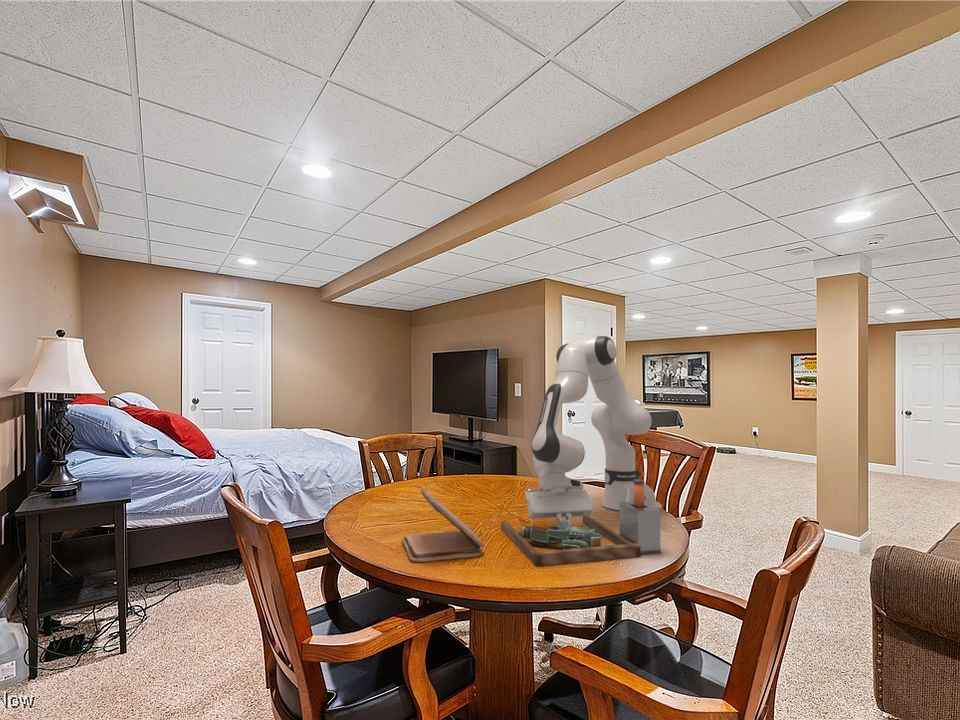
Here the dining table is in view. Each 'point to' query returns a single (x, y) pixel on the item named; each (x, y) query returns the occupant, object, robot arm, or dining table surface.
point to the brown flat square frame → (578, 554)
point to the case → (443, 539)
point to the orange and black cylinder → (638, 493)
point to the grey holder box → (640, 526)
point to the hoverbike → (562, 536)
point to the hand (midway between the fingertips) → (566, 529)
